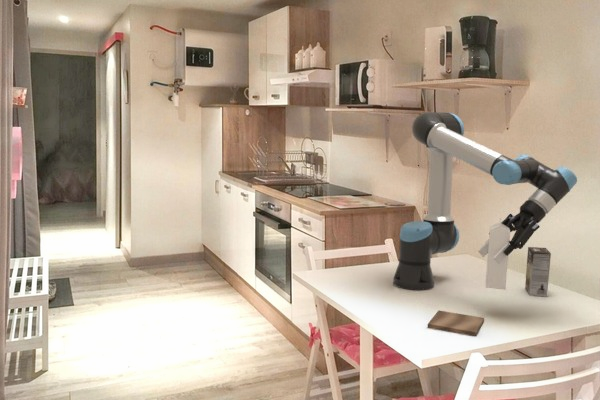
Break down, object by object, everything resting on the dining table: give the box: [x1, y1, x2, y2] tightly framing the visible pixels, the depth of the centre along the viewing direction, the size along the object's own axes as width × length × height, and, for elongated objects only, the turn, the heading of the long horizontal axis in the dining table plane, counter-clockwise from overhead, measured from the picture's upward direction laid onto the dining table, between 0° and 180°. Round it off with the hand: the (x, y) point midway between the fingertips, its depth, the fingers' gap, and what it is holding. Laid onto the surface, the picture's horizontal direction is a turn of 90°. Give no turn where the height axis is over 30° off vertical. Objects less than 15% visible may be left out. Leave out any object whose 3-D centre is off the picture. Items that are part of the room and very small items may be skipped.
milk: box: [485, 217, 511, 291], centre depth 178 cm, size 6×6×22 cm
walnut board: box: [427, 310, 485, 337], centre depth 168 cm, size 14×14×1 cm
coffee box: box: [524, 246, 552, 298], centre depth 202 cm, size 9×6×16 cm
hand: (488, 257), depth 177 cm, fingers closed on milk, 8 cm apart
